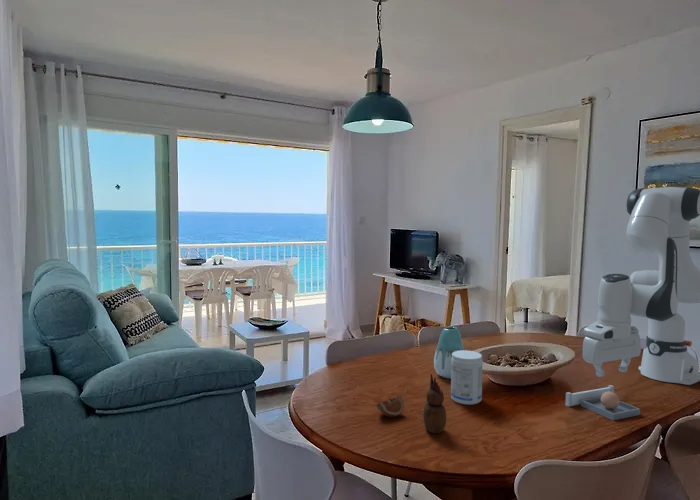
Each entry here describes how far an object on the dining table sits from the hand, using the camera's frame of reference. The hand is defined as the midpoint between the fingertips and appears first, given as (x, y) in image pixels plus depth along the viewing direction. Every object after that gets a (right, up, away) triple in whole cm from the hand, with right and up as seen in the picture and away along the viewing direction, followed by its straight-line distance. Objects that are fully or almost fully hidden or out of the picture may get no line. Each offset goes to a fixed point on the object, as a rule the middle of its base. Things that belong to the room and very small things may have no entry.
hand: (611, 373), depth 139 cm
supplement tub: (-42, -10, +7) cm, 44 cm away
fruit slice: (-67, -11, -5) cm, 68 cm away
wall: (-3, -11, +7) cm, 13 cm away
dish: (0, -11, 0) cm, 11 cm away
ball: (0, -11, 0) cm, 10 cm away
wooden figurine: (-56, -12, -14) cm, 59 cm away
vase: (-42, -9, +30) cm, 52 cm away
